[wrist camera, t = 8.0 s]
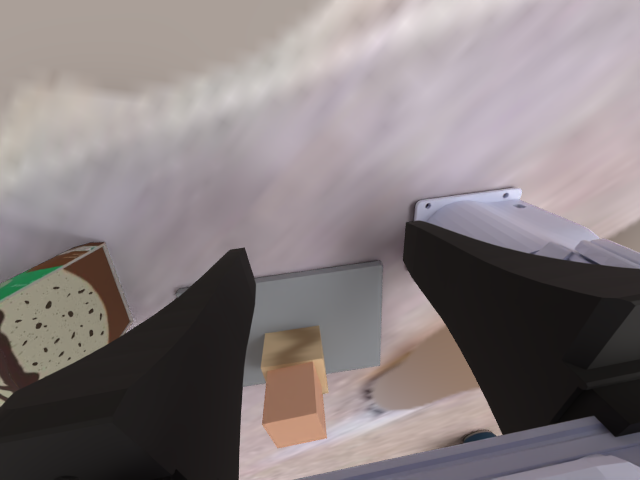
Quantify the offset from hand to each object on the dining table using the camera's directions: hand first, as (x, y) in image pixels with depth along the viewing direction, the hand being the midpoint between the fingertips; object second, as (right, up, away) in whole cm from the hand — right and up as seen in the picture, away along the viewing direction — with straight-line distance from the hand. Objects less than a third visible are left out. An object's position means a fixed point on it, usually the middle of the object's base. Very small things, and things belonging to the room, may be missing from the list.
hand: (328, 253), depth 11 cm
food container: (-22, -3, +12) cm, 25 cm away
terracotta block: (-3, -13, +14) cm, 19 cm away
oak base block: (-3, -11, +18) cm, 22 cm away
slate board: (-3, -10, +17) cm, 20 cm away
